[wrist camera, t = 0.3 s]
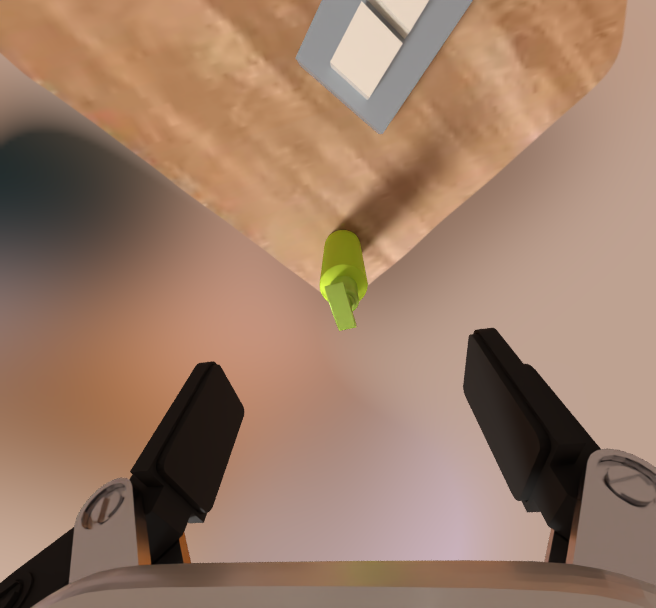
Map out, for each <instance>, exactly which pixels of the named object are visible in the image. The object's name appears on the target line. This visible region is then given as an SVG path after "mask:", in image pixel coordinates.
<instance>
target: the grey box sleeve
mask: <svg viewBox="0 0 656 608" xmlns="http://www.w3.org/2000/svg"><path fill="white" fill-rule="evenodd" d="M361 1H362V2H363V3H364V4H365V5H366V6H367V7H368V8H369V9H370V10H371V11H372V12H373V13H374V14H375V15H376V16H377V17H378V18H379V19H380V20H381V22H382V23H383V24H384V25H385V26H386V27H387V28H388V29H389V30H390V31H391V32H392V33H393V34H394V35H395V36H396V37H397V38H398V39H399V40H400V41H401V42H402V43H403V44H402V45H401V47H400V49H399V50H398V52H397V54H396V55H395V57H394V58H393V60H392V62H391V63H390V65H389V67H388V68H387V70H386V71H385V73H384V75H383V76H382V78H381V80H380V81H379V83H378V85H377V86H376V88H375V89H374V91H373V93H372V94H371V96H370V98H369V99H368V100H367V99H366V98H364V97H363V96H362V95H361V94H360V93H359V92H358V91H357V90H356V89H354V88H353V87H352V86H351V85H350V84H349V83H348V82H347V81H346V80H345V79H343V78H342V77H341V76H340V75H339V74H338V73H337V72H336V71H335V70H333V69H332V68H331V65H330V61H331V59H332V57H333V55H334V53H335V51H336V49H337V48H338V46H339V44H340V42H341V40H342V38H343V36H344V34H345V32H346V30H347V28H348V26H349V24H350V22H351V20H352V18H353V17H354V15H355V13H356V11H357V9H358V7H359V5H360V3H361ZM472 1H473V0H429V1H428V3H427V5H426V6H425V8H424V10H423V11H422V13H421V14H420V16H419V18H418V19H417V21H416V23H415V24H414V26H413V27H412V29H411V31H410V32H409V34H408V35H407V36H406V38H405V39H404V38H403V37H402V36H401V35H400V34H399V33H398V32H397V31H396V29H395V28H394V27H393V26H392V25H391V24H390V23H389V22H388V21H387V20H386V19H385V18H384V17H383V16H382V15H381V14H380V13H379V12H378V11H377V10H376V9H375V8H374V7H373V6H372V4H371V3H370V2H369V1H368V0H322V1H321V4H320V6H319V8H318V10H317V12H316V14H315V17H314V19H313V21H312V23H311V25H310V27H309V30H308V32H307V34H306V36H305V38H304V41H303V43H302V45H301V47H300V49H299V51H298V54H297V56H296V60H297V61H298V63H299V65H300V66H301V67H302V68H303V69H305V70H306V71H307V72H308V73H309V74H310V75H311V76H313V77H314V78H315V79H316V80H317V81H318V82H319V83H321V84H322V85H323V86H324V87H325V88H326V89H327V90H329V91H330V92H331V93H332V94H333V95H334V96H336V97H337V98H338V99H339V100H340V101H341V102H342V103H344V104H345V105H346V106H347V107H348V108H349V109H350V110H352V111H353V112H354V113H355V114H356V115H357V116H358V117H360V118H361V119H362V120H363V121H364V122H365V123H366V124H368V125H369V126H370V127H371V128H372V129H373V130H374V131H376V132H377V133H378V134H383V132H384V131H385V129H386V128H387V126H388V125H389V123H390V122H391V121H392V119H393V118H394V116H395V115H396V113H397V112H398V110H399V109H400V107H401V106H402V104H403V103H404V101H405V100H406V98H407V97H408V95H409V94H410V92H411V91H412V89H413V88H414V87H415V85H416V84H417V82H418V81H419V79H420V78H421V76H422V75H423V73H424V72H425V70H426V69H427V67H428V66H429V64H430V63H431V61H432V60H433V58H434V57H435V55H436V54H437V52H438V51H439V50H440V48H441V47H442V45H443V44H444V42H445V41H446V39H447V38H448V36H449V35H450V33H451V32H452V30H453V29H454V27H455V26H456V24H457V23H458V21H459V20H460V18H461V17H462V16H463V14H464V13H465V11H466V10H467V8H468V7H469V5H470V4H471V2H472Z"/></svg>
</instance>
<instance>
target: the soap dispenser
mask: <svg viewBox="0 0 656 608" xmlns="http://www.w3.org/2000/svg"><path fill="white" fill-rule="evenodd" d="M367 286H368V283H367V277H366V272H365V267H364V261H363V256H362V250H361V245H360V241H359V239H358V237H357V236H356V235H355V234H354V233H352V232H351V231H348V230H338V231H335V232H333V233H332V234H330V235H329V236H328V238H327V239H326V242H325V247H324V254H323V262H322V270H321V278H320V291H321V293H322V295H323V297H324V298H325V299H326V300H327V301H328V302H329V304H330V307H331V310H332V313H333V316H334V319H335V321H336V324H337V326H338V329H339V331H341V330H346V329H350V328H355V327H356V322H355V319H354V315H353V312H352V311H354V310H355V309H356V308H357V306H358V304H359V301H360V300H361V299H362V298H363V297H364V295H365V293H366V291H367Z"/></svg>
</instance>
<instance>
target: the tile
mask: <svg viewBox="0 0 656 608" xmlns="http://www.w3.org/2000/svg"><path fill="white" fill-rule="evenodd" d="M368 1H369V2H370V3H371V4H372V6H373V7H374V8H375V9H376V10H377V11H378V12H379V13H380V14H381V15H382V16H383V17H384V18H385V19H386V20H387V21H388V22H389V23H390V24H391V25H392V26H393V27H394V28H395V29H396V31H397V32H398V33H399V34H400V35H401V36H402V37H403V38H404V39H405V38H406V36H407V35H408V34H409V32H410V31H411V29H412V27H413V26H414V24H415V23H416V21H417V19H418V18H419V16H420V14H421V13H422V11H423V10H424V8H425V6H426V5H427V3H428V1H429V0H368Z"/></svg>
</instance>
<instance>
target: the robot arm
mask: <svg viewBox="0 0 656 608" xmlns="http://www.w3.org/2000/svg"><path fill="white" fill-rule="evenodd" d="M463 389H464V393H465V396H466V398H467V401H468V403H469V405H470V407H471V409H472V411H473V413H474V415H475V417H476V419H477V422H478V424H479V426H480V428H481V430H482V432H483V434H484V436H485V438H486V440H487V443H488V445H489V447H490V449H491V451H492V453H493V455H494V457H495V459H496V461H497V464H498V466H499V468H500V470H501V472H502V474H503V476H504V478H505V480H506V482H507V484H508V486H509V489H510V491H511V493H512V494H513V496H514V498H515V499H516V500H518V501H522V503H523V505H524V507H525V509H526V511H527V512H541V513H542V515H543V517H544V519H545V521H546V523H547V525H548V526H549V527H550V528H551V532H550V537H549V542H548V546H547V551H546V556H545V562H535V561H534V562H533V561H470V560H467V561H466V560H465V561H464V560H462V561H323V562H322V561H320V562H242V563H240V562H239V563H191V560H190V555H189V551H188V547H187V542H186V537H185V533H184V531H185V528H186V525H187V523H203V522H204V520H205V517H206V515H207V512H209V511H210V510H211V509H212V507H213V504H214V501H215V499H216V495H217V493H218V490H219V487H220V484H221V481H222V478H223V475H224V472H225V469H226V466H227V464H228V461H229V457H230V455H231V451H232V449H233V446H234V443H235V440H236V437H237V434H238V431H239V428H240V425H241V422H242V420H243V417H244V407H243V405H242V403H241V402H240V400H239V398H238V396H237V394H236V393H235V391H234V389H233V387H232V386H231V384H230V382H229V380H228V379H227V377H226V375H225V373H224V371H223V370H222V368H221V366H220V365H217V364H216V363H215V362H205V363H199V364H197V365H196V366H195V368H194V370H193V371H192V373H191V374H190V376H189V378H188V379H187V381H186V382H185V384H184V386H183V387H182V389H181V391H180V392H179V394H178V395H177V397H176V399H175V400H174V402H173V403H172V405H171V407H170V408H169V410H168V411H167V413H166V415H165V416H164V418H163V419H162V421H161V423H160V424H159V426H158V427H157V429H156V431H155V432H154V434H153V436H152V437H151V439H150V440H149V442H148V444H147V445H146V447H145V448H144V450H143V452H142V453H141V455H140V457H139V458H138V460H137V461H136V463H135V465H134V466H133V468H132V469H131V471H130V472H131V473H132V474H133V475H132V476H131V478H130V480H128V479H127V478H118V479H114V480H112V481H110V482H108V483H106V484H105V485H103V486H102V487H101V488H99V489H98V490H97V491H96V492H95V493H94V494H93V495H92V496H91V497H90V498H89V499H88V500H87V501H86V503H85V504H84V505H83V507H82V508H81V510H80V512H79V514H78V516H77V518H76V522H75V525H74V527H73V528H72V529H71V530H69V531H68V532H67V533H65V534H64V535H63V536H61V537H60V538H59V539H57V540H56V541H55V542H53V543H52V544H51V545H50V546H48V547H47V548H45V549H44V550H43V551H41V552H40V553H39V554H38V555H36V556H35V557H34V558H32V559H31V560H29V561H28V562H27V563H25V564H24V565H23V566H21V567H20V568H19V569H17V570H16V571H15V572H14V573H12V574H11V575H9V576H8V577H7V578H6V579H5V580H3V581H2V582H1V583H0V608H656V467H654V466H652V465H651V464H650V463H648V462H647V461H645V460H643V459H641V458H639V457H637V456H635V455H633V454H630V453H626V452H624V451H620V450H614V449H600V447H599V446H598V445H597V444H596V443H595V441H593V439H592V438H591V437H590V435H589V434H588V433H587V432H586V431H585V429H584V428H583V427H582V426H581V425H580V423H579V422H578V421H577V420H576V418H575V417H574V416H573V415H572V414H571V413H570V411H569V410H568V409H567V408H566V406H565V405H564V404H563V403H562V401H561V400H560V399H559V398H558V397H557V395H556V394H555V393H554V392H553V391H552V389H551V388H550V387H549V386H548V385H547V383H546V382H545V381H544V380H543V379H542V377H541V376H540V375H539V374H538V373H537V371H536V370H535V369H534V368H533V367H532V366H530V365H528V364H523V363H522V361H521V360H520V359H519V358H518V356H517V355H516V354H515V353H514V351H513V350H512V349H511V348H510V346H509V345H508V344H507V343H506V341H505V340H504V339H503V337H502V336H501V335H500V334H499V333H498V331H497V330H496V329H495V328H487V329H479V330H475V331H474V334H472V335H469V339H468V348H467V357H466V366H465V375H464V385H463Z"/></svg>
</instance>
